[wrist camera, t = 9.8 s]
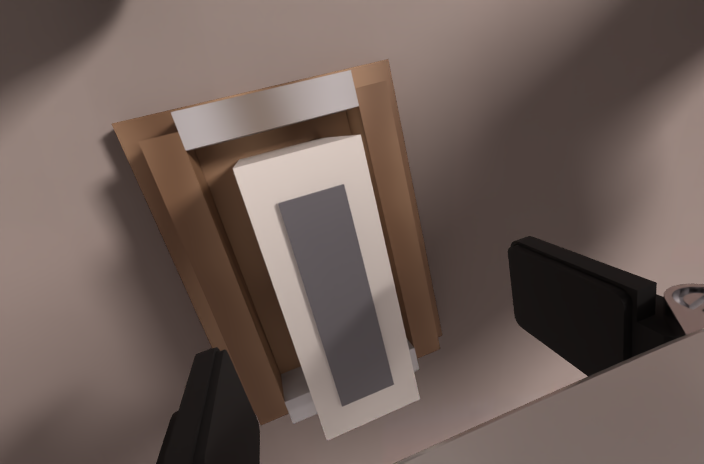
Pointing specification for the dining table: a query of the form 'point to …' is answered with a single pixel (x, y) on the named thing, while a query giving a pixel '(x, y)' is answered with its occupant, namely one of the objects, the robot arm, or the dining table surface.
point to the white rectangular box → (331, 277)
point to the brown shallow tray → (236, 228)
